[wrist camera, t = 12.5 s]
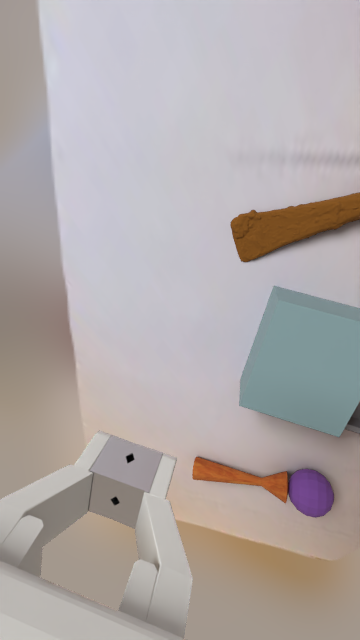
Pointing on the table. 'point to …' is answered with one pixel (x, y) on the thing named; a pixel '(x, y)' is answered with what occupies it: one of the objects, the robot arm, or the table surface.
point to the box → (354, 421)
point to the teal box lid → (305, 362)
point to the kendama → (276, 485)
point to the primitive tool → (290, 224)
